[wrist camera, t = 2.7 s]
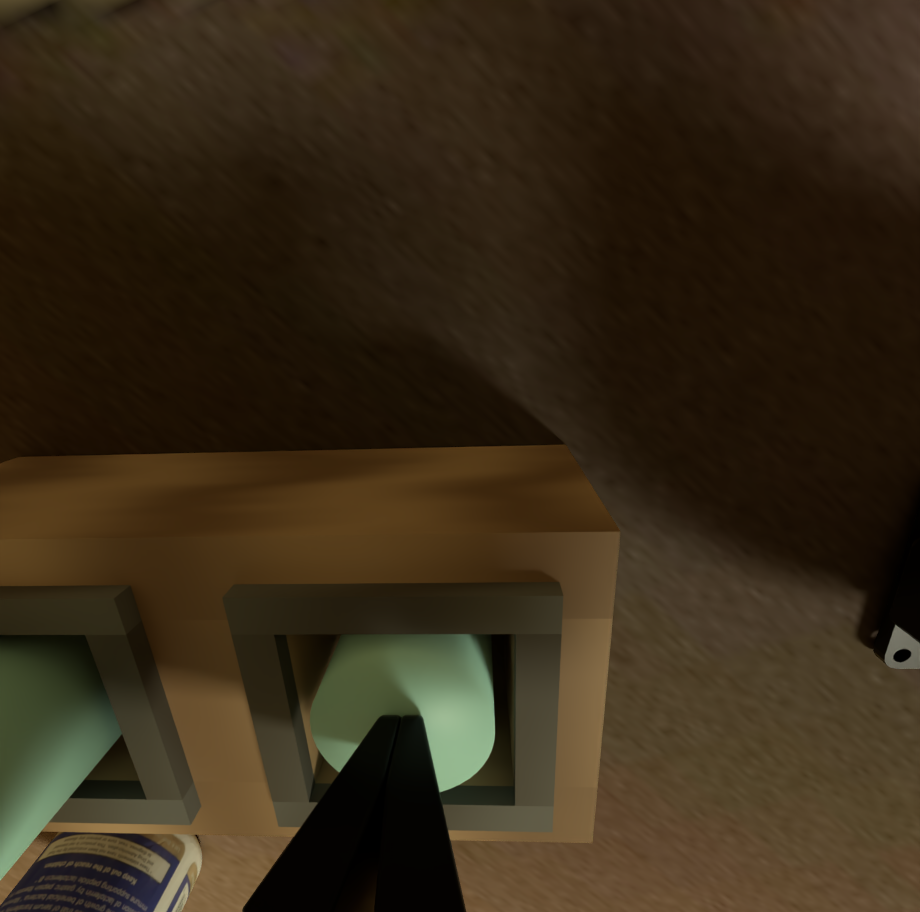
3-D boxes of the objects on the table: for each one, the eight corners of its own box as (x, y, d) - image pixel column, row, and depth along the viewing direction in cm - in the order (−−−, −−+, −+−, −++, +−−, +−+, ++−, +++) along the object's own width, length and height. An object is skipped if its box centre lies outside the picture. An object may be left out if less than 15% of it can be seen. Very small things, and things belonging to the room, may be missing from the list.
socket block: (566, 444, 12) (627, 543, 7) (556, 671, 15) (596, 863, 10) (19, 457, 13) (-275, 553, 8) (99, 670, 16) (-85, 848, 11)
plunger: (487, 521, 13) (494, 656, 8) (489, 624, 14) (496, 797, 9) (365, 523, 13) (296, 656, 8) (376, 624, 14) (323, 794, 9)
